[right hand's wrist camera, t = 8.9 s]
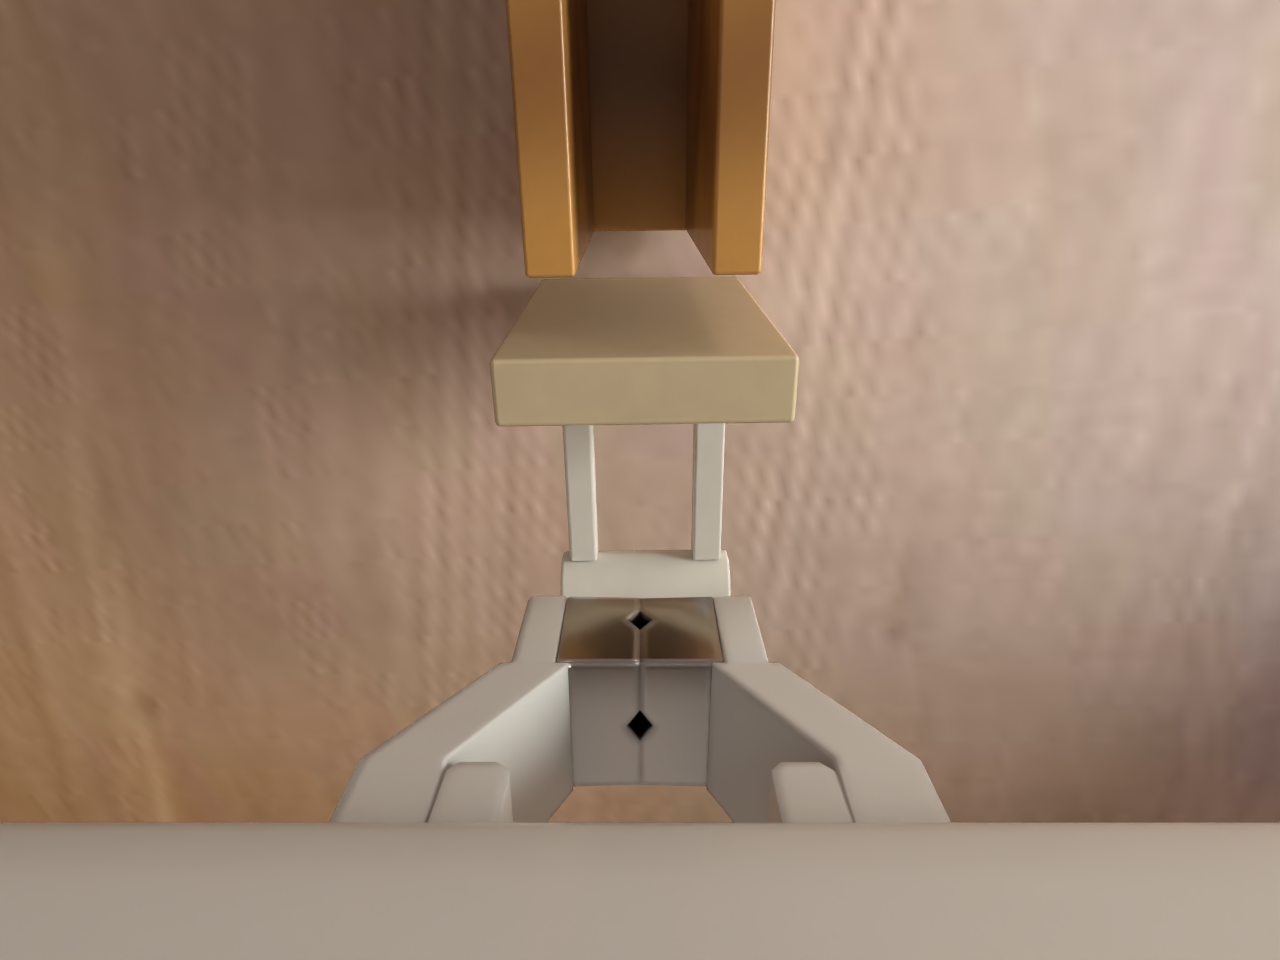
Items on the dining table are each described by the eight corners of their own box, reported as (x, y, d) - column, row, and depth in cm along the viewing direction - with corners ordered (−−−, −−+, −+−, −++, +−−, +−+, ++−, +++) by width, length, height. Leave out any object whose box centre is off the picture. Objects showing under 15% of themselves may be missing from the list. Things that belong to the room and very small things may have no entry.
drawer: (728, 503, 23) (775, 678, 15) (556, 506, 23) (519, 682, 15) (778, -723, 13) (971, -1861, 6) (478, -720, 13) (274, -1860, 6)
